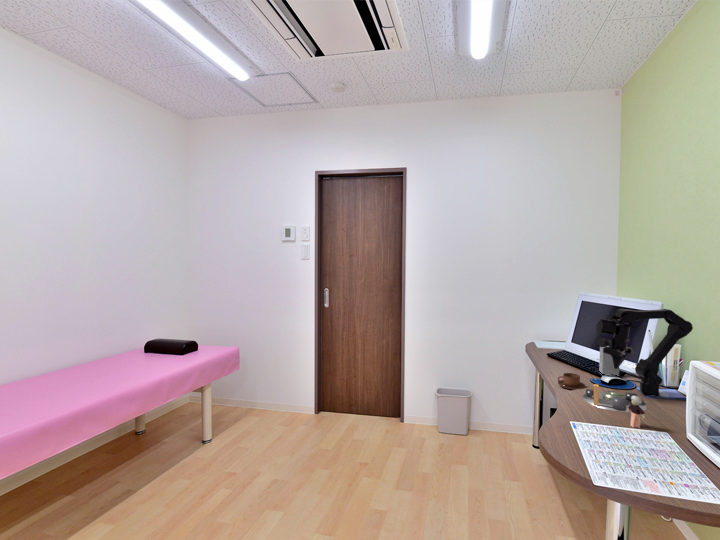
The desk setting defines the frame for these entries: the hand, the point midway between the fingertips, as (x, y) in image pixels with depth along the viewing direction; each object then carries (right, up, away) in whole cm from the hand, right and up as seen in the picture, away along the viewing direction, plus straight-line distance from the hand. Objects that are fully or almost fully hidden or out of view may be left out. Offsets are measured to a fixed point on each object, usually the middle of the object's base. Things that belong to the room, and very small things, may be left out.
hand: (615, 368), depth 187 cm
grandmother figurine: (-16, -14, -36) cm, 42 cm away
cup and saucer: (-15, -12, +11) cm, 22 cm away
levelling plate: (-8, -13, -12) cm, 19 cm away
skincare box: (+15, -11, +29) cm, 34 cm away
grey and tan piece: (-14, -12, -18) cm, 26 cm away
